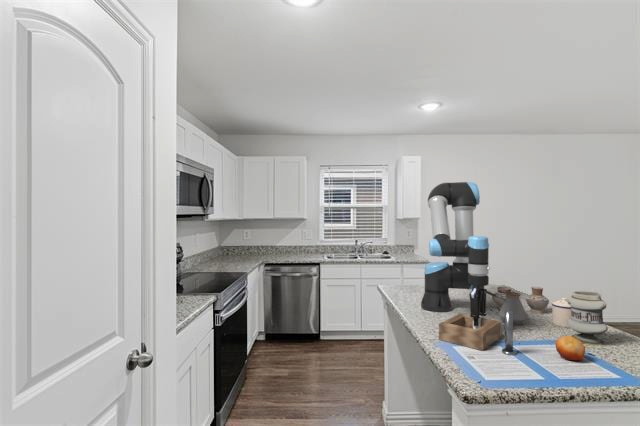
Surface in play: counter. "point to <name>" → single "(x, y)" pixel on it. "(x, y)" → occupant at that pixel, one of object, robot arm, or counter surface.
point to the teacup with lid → (561, 313)
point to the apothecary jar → (587, 316)
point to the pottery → (534, 300)
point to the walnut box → (469, 331)
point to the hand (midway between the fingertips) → (478, 332)
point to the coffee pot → (512, 307)
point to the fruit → (570, 348)
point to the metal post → (509, 334)
